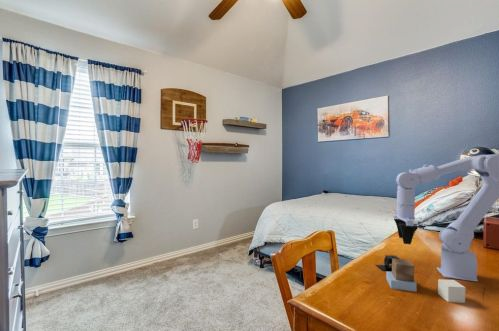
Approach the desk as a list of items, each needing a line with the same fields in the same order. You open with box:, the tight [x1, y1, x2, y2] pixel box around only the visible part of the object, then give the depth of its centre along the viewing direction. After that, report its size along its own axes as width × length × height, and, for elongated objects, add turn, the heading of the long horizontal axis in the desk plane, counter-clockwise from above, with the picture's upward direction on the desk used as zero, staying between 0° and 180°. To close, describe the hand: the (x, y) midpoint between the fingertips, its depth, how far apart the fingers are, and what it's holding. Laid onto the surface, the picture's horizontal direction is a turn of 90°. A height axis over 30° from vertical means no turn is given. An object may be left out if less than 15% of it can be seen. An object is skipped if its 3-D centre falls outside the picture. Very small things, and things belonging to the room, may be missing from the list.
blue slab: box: [385, 271, 418, 293], centre depth 83 cm, size 7×7×3 cm
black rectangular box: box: [375, 254, 401, 272], centre depth 96 cm, size 13×8×5 cm, turn 87°
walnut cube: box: [391, 258, 415, 282], centre depth 83 cm, size 5×5×5 cm
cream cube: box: [437, 278, 466, 304], centre depth 75 cm, size 4×4×4 cm
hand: (404, 240), depth 96 cm, fingers open, 7 cm apart
